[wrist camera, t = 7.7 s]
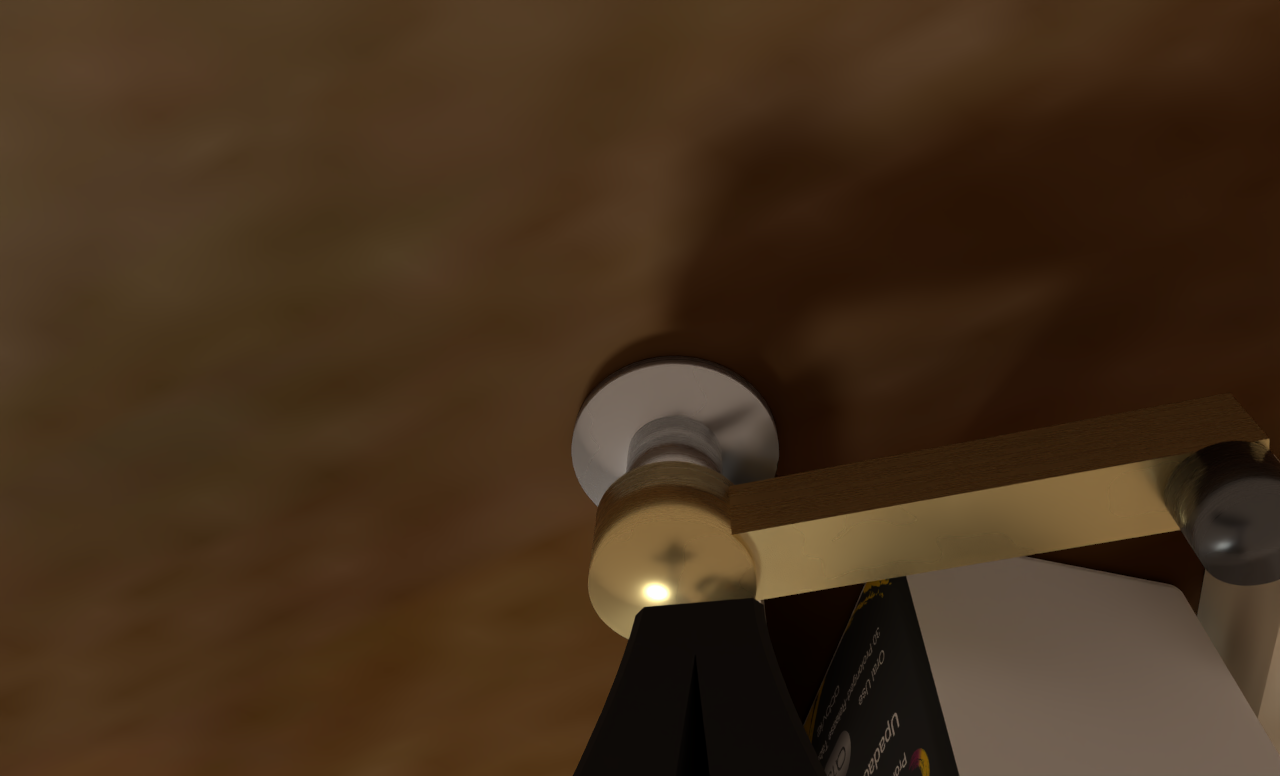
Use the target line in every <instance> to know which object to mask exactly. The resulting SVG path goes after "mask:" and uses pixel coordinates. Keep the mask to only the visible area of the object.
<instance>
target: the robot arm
mask: <svg viewBox="0 0 1280 776" xmlns="http://www.w3.org/2000/svg"><path fill="white" fill-rule="evenodd" d="M573 776H827V774H826V773H825V771H824V769H823V767H822V765H821V763H820V760H819V758H818V756H817V754H816V752H815V750H814V748H813V746H812V743H811V741H810V739H809V737H808V735H807V733H806V731H805V729H804V726H803V724H802V722H801V720H800V718H799V716H798V713H797V711H796V709H795V706H794V704H793V702H792V699H791V697H790V694H789V692H788V689H787V686H786V684H785V681H784V678H783V676H782V673H781V671H780V668H779V665H778V662H777V659H776V656H775V653H774V650H773V646H772V643H771V639H770V636H769V632H768V627H767V623H766V618H765V610H764V605H763V604H761V603H760V602H759V601H757V600H756V599H754V598H744V599H732V600H720V601H708V602H696V603H684V604H673V605H661V606H649V607H643V608H642V609H641V610H640V611H639V612H638V613H637V614H636V616H635V619H634V623H633V627H632V630H631V634H630V637H629V640H628V643H627V646H626V649H625V653H624V655H623V658H622V661H621V664H620V667H619V669H618V672H617V675H616V678H615V680H614V683H613V685H612V688H611V690H610V693H609V695H608V698H607V700H606V703H605V705H604V708H603V710H602V713H601V715H600V717H599V719H598V722H597V724H596V726H595V728H594V730H593V733H592V735H591V737H590V739H589V742H588V744H587V746H586V748H585V751H584V753H583V755H582V757H581V760H580V762H579V764H578V766H577V768H576V770H575V772H574V775H573Z"/></svg>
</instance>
